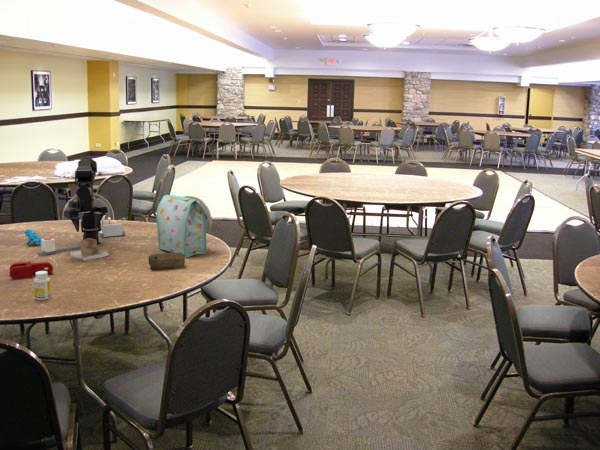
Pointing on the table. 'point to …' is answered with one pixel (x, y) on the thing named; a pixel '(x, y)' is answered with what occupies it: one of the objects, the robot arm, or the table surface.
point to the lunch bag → (181, 225)
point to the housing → (88, 246)
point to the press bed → (89, 256)
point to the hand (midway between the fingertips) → (87, 230)
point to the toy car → (111, 229)
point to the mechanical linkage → (28, 269)
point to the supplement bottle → (42, 286)
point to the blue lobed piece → (32, 237)
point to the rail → (59, 250)
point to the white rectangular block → (47, 244)
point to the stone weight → (166, 260)
